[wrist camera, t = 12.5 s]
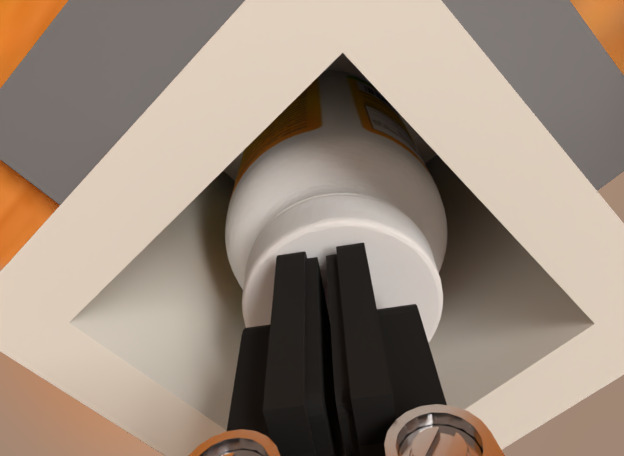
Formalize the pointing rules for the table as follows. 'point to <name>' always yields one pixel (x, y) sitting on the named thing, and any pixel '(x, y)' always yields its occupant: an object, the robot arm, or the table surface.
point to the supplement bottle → (338, 199)
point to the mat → (208, 20)
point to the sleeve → (213, 212)
